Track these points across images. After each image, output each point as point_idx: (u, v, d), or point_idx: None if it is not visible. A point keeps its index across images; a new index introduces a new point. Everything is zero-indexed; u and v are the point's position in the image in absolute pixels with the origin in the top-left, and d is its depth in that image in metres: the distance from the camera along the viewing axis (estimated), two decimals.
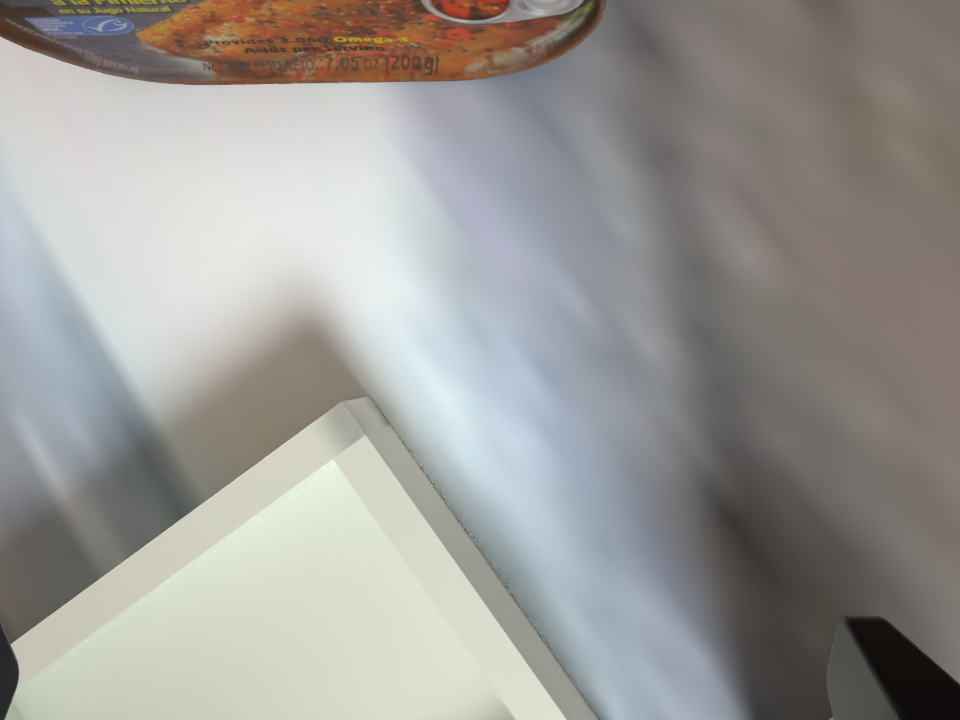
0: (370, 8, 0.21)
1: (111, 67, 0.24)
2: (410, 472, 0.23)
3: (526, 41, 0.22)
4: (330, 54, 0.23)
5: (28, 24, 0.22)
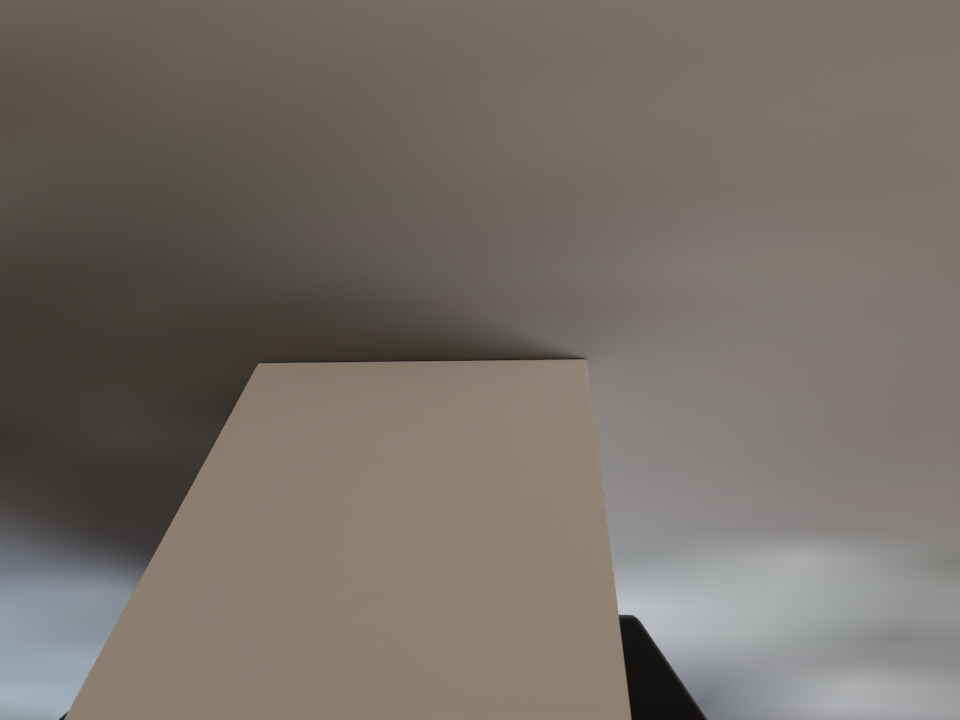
0: None
1: None
2: None
3: None
4: None
5: None
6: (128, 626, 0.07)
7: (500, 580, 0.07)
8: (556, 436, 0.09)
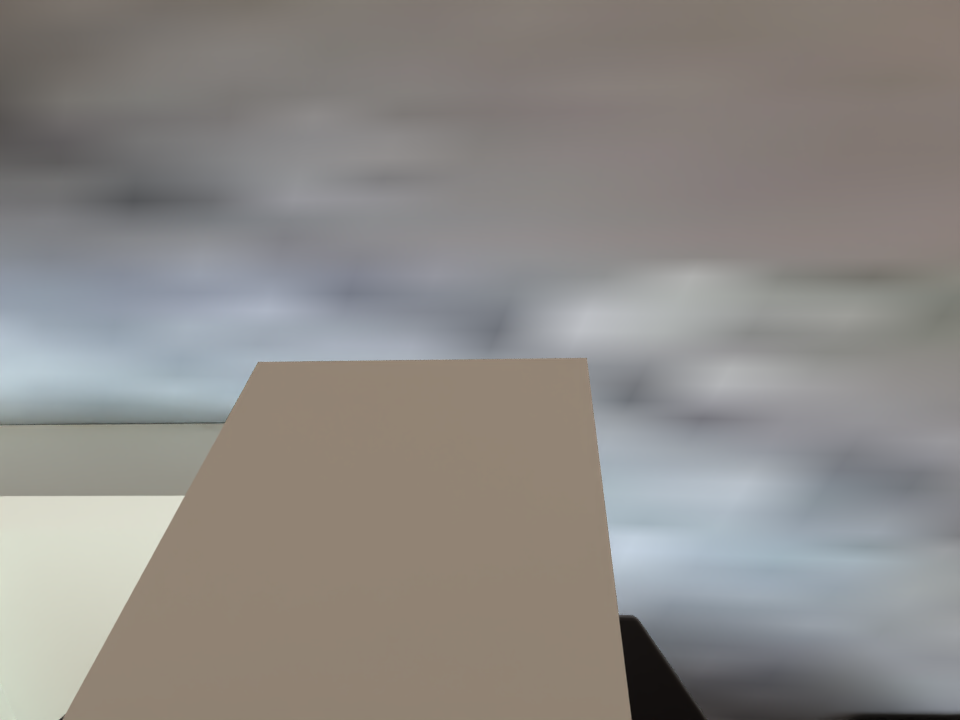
0: None
1: None
2: None
3: None
4: None
5: None
6: (127, 625, 0.07)
7: (500, 578, 0.07)
8: (556, 435, 0.09)
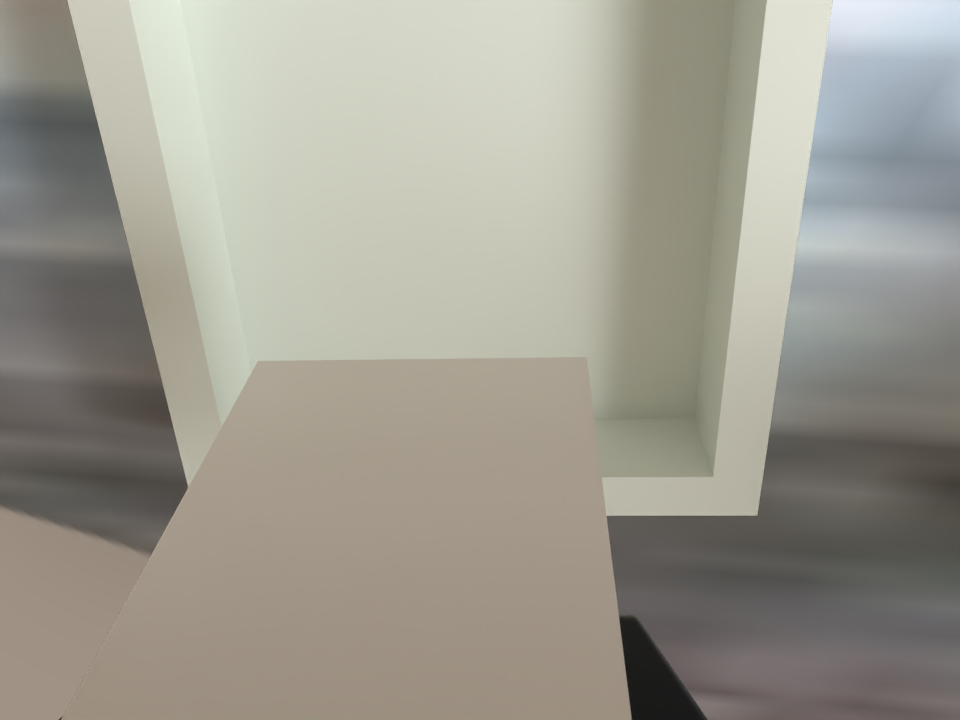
0: None
1: None
2: None
3: None
4: None
5: None
6: (127, 623, 0.07)
7: (499, 577, 0.07)
8: (556, 433, 0.09)
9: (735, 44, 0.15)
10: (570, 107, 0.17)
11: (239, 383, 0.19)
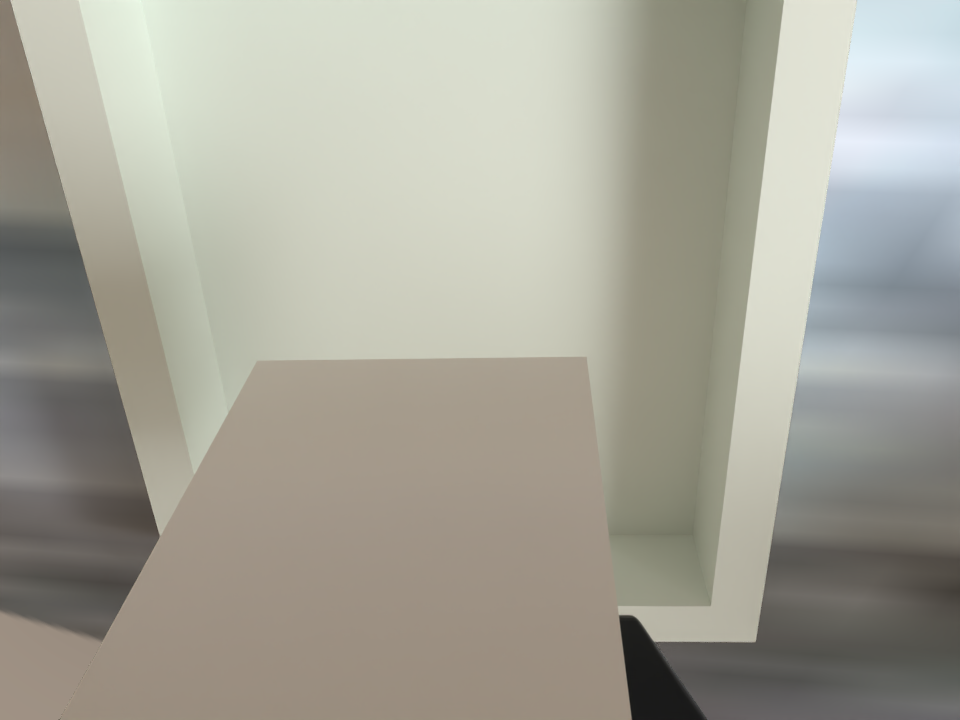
0: None
1: None
2: None
3: None
4: None
5: None
6: (124, 623, 0.07)
7: (499, 577, 0.07)
8: (556, 433, 0.09)
9: (732, 189, 0.15)
10: (565, 243, 0.16)
11: None
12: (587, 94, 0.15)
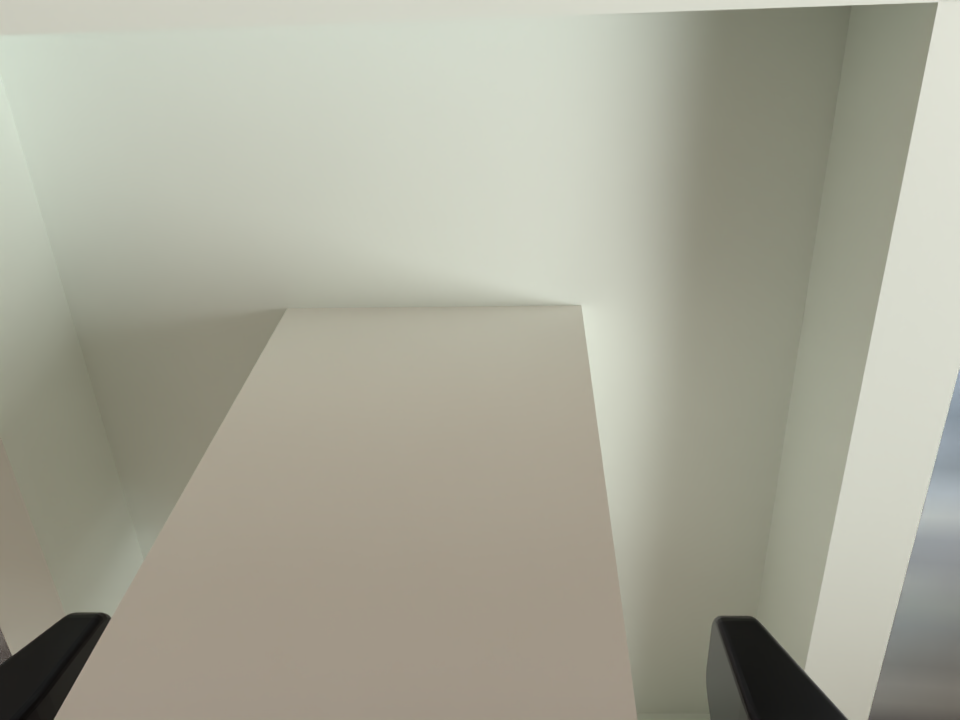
0: None
1: None
2: None
3: None
4: None
5: None
6: (189, 500, 0.08)
7: (506, 468, 0.09)
8: (554, 363, 0.10)
9: (814, 309, 0.11)
10: None
11: None
12: (616, 180, 0.11)
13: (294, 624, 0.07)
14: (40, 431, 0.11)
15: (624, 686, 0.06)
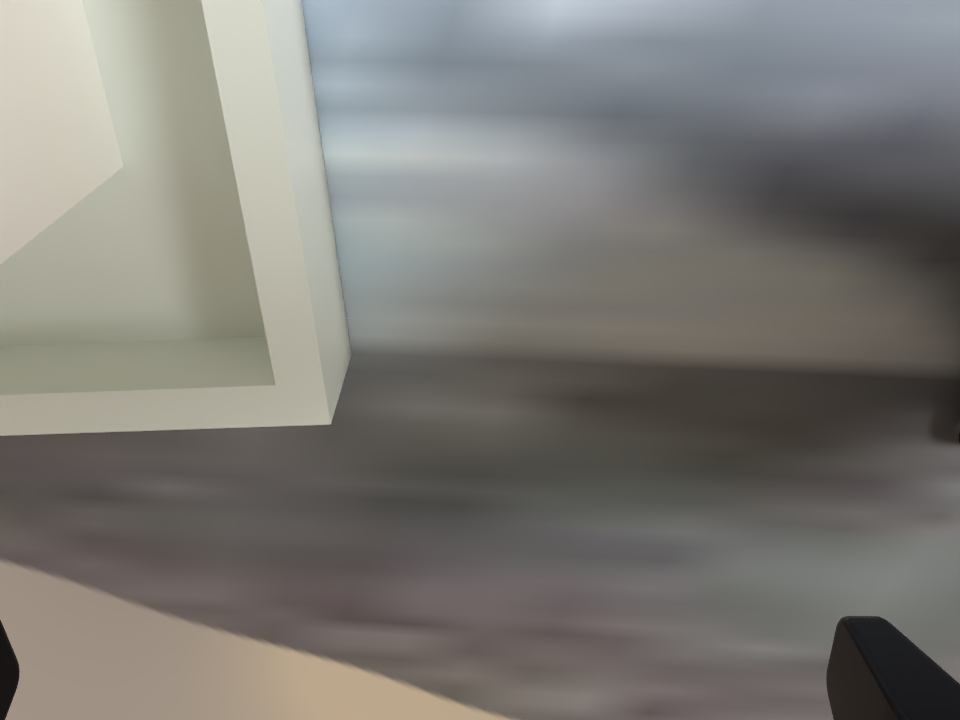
0: None
1: None
2: None
3: None
4: None
5: None
6: None
7: None
8: None
9: None
10: (88, 11, 0.17)
11: None
12: None
13: None
14: None
15: None
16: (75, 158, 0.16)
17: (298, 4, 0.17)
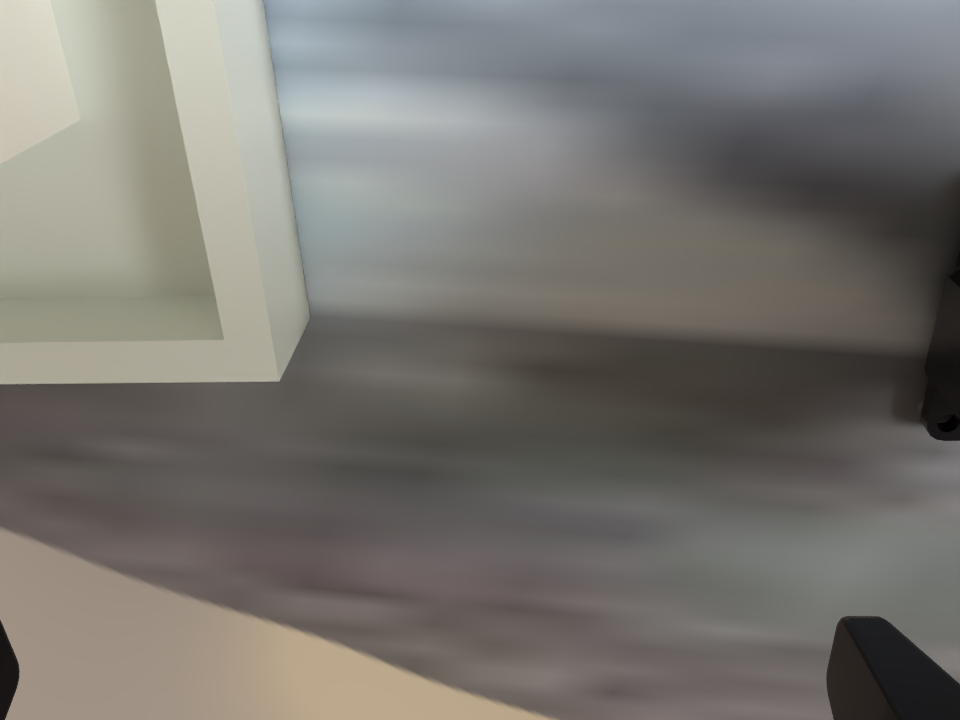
0: None
1: None
2: None
3: None
4: None
5: None
6: None
7: None
8: None
9: None
10: None
11: None
12: None
13: None
14: None
15: None
16: (24, 105, 0.16)
17: None
